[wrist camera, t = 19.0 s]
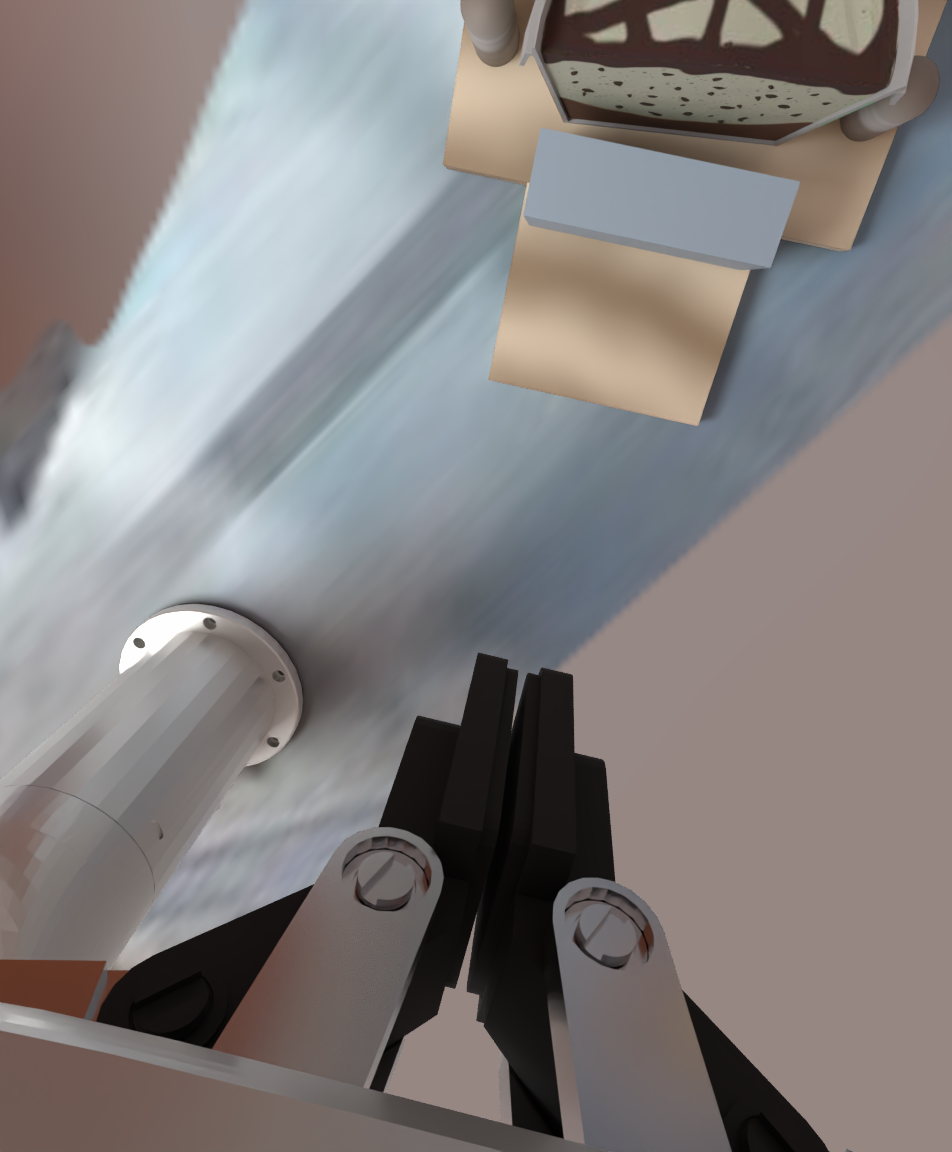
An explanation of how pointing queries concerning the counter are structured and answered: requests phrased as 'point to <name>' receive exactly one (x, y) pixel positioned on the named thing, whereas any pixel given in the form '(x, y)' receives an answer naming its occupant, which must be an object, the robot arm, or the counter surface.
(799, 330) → the counter surface
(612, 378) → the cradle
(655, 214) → the block
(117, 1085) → the robot arm
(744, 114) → the food container
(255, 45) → the counter surface
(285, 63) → the counter surface
